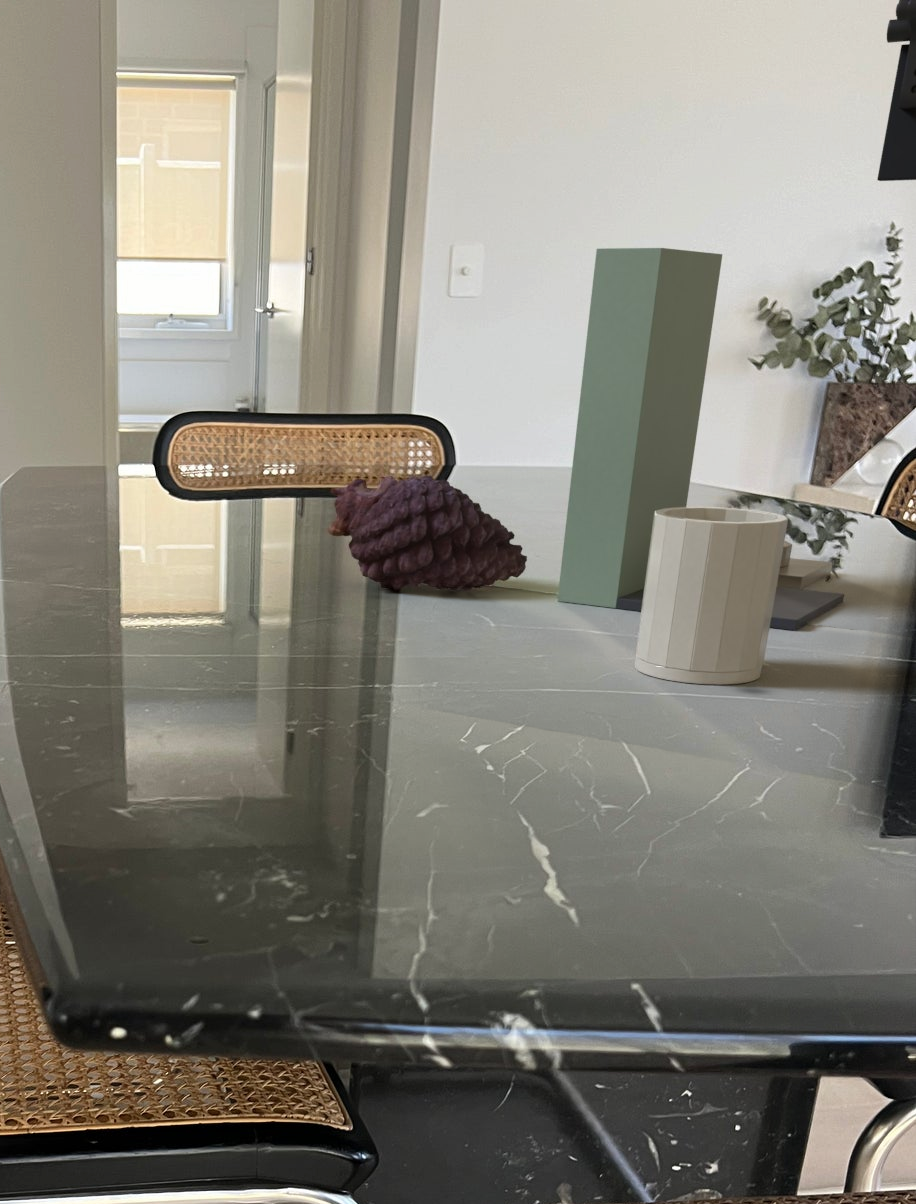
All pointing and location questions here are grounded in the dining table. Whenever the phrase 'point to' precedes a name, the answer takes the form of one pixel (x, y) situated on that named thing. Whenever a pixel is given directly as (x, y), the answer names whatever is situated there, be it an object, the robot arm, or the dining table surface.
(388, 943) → the dining table surface
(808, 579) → the block
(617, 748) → the dining table surface
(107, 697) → the dining table surface
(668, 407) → the coffee machine
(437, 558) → the pine cone
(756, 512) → the cup
